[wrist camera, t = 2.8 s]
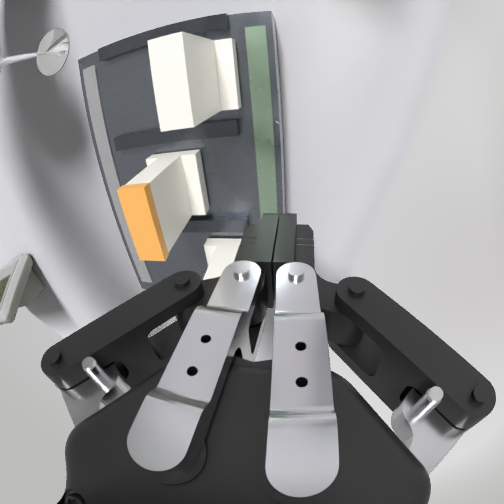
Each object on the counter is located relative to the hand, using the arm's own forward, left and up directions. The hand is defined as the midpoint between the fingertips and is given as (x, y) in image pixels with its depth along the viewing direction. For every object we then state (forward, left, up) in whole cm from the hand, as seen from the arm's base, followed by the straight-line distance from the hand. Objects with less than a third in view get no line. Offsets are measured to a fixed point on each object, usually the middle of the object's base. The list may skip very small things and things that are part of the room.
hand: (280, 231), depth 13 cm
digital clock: (-43, -14, -10) cm, 46 cm away
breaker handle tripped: (-7, 0, -6) cm, 10 cm away
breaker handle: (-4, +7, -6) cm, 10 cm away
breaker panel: (-7, 0, -10) cm, 12 cm away
